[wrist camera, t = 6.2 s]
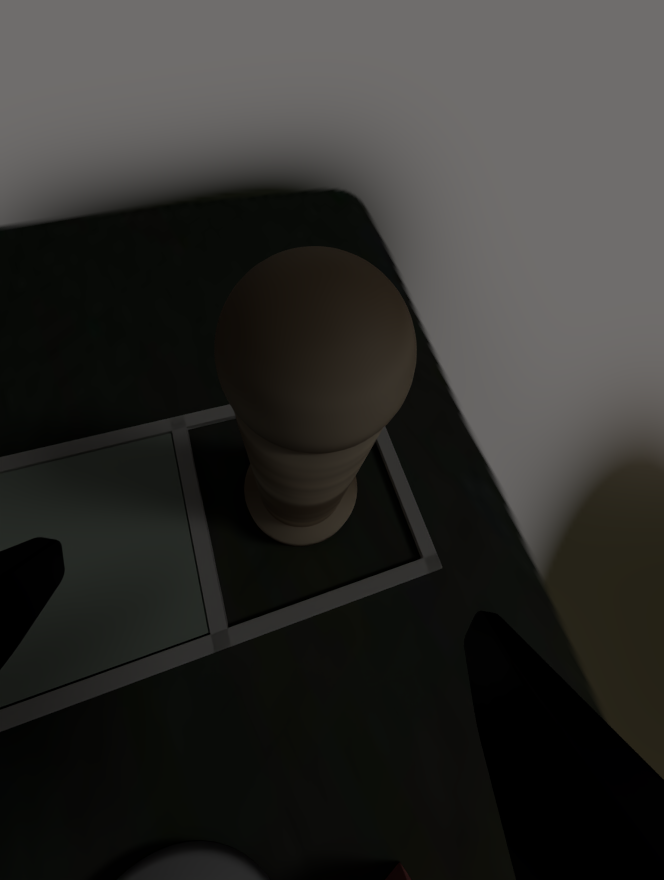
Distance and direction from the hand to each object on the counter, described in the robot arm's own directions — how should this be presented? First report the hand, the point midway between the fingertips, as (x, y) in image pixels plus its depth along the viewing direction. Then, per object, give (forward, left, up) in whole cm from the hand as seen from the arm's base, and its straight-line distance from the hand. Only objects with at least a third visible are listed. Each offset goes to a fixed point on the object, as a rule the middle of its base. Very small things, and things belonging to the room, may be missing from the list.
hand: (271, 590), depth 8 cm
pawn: (+5, -2, -12) cm, 13 cm away
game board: (+5, +3, -12) cm, 13 cm away
